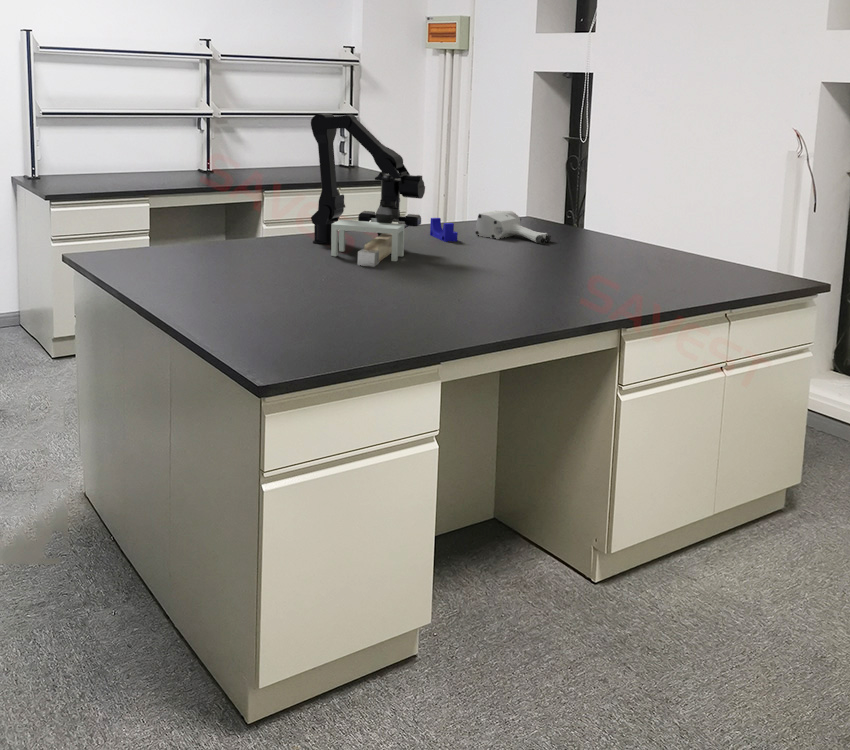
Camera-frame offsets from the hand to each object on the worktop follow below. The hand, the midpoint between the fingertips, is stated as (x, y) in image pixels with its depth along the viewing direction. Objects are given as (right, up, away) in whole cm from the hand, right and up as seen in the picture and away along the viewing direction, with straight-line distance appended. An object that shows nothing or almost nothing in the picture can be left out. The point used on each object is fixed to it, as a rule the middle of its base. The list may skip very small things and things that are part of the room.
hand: (389, 246), depth 307 cm
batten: (-2, -3, -7) cm, 8 cm away
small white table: (-6, -4, -10) cm, 12 cm away
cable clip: (+17, +5, +22) cm, 29 cm away
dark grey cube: (-5, -8, -21) cm, 23 cm away
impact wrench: (+44, +7, +31) cm, 54 cm away
